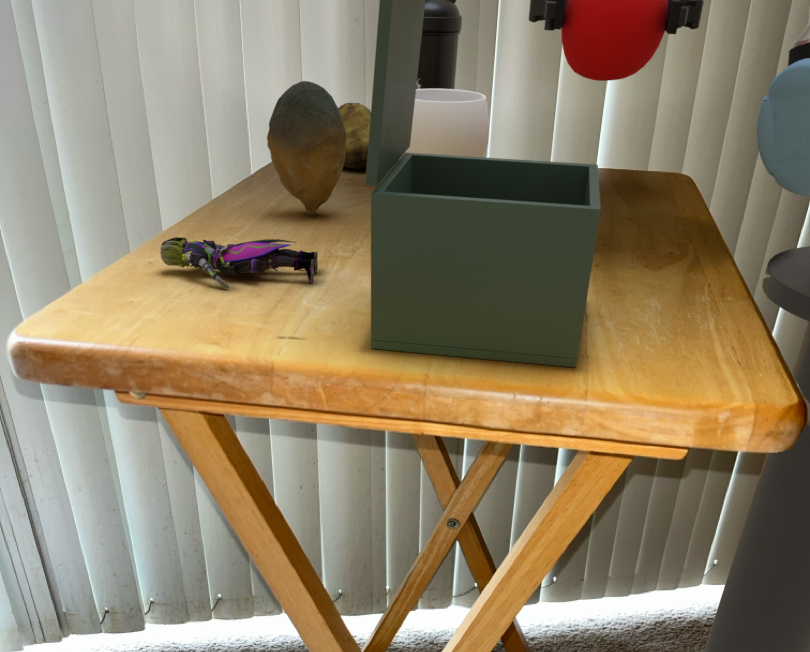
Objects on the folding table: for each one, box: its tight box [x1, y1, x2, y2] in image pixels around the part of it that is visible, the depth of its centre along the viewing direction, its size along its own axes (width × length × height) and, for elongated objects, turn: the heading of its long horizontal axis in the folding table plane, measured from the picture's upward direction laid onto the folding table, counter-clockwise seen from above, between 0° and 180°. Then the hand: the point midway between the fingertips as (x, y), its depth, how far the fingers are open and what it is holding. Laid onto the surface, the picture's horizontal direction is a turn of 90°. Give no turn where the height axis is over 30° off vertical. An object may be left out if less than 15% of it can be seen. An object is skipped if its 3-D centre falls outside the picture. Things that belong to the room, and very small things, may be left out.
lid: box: [365, 0, 425, 188], centre depth 66 cm, size 18×16×1 cm
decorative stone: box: [266, 80, 346, 215], centre depth 102 cm, size 10×6×15 cm, turn 84°
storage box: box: [370, 153, 602, 368], centre depth 74 cm, size 18×16×13 cm
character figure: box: [159, 236, 319, 289], centre depth 86 cm, size 9×4×16 cm
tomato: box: [560, 0, 668, 82], centre depth 87 cm, size 10×11×11 cm
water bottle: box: [397, 0, 463, 162], centre depth 127 cm, size 10×10×23 cm
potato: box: [338, 102, 371, 171], centre depth 128 cm, size 8×13×8 cm, turn 173°
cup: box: [399, 88, 490, 160], centre depth 96 cm, size 11×11×15 cm
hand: (616, 15), depth 83 cm, fingers closed on tomato, 11 cm apart
